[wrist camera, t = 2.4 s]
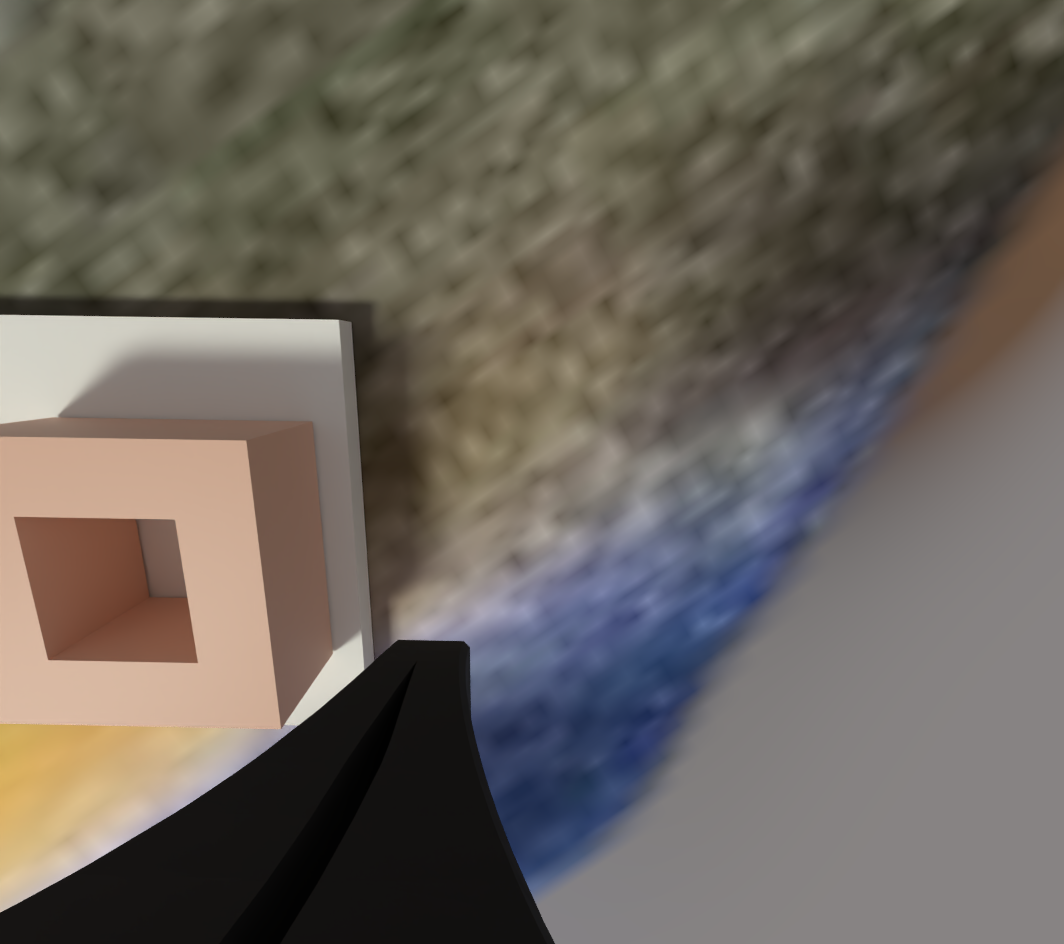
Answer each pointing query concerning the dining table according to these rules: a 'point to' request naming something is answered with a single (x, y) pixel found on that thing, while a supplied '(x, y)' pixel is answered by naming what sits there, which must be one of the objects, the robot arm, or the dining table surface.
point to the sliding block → (120, 581)
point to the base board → (215, 394)
